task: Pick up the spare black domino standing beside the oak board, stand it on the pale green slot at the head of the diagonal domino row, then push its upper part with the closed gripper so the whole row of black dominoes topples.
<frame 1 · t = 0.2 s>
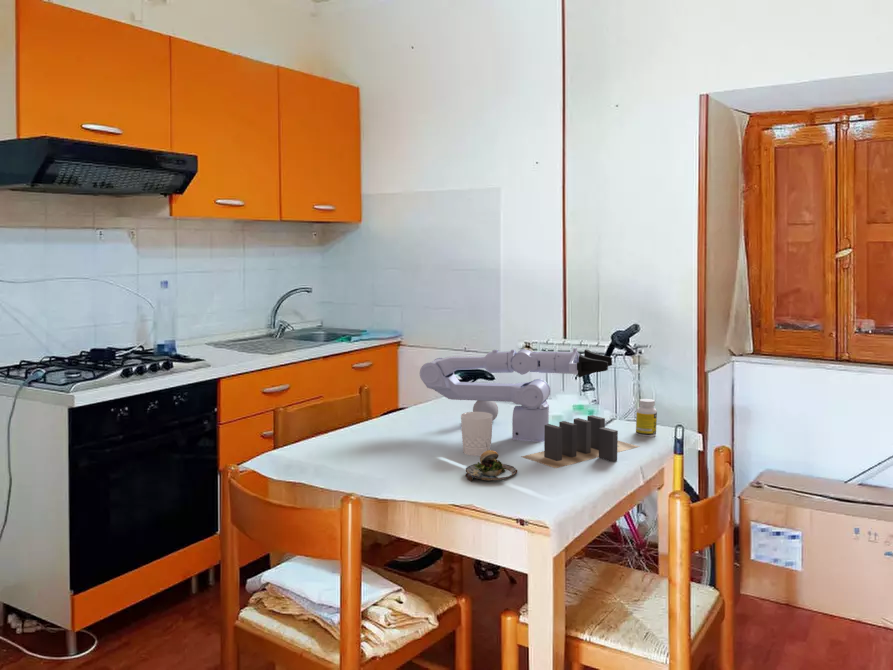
hand: (609, 363, 199), 22 cm above the table, tool horizontal, fingers open, 7 cm apart
perfume bottle: (484, 423, 227), on the table
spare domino: (607, 461, 187), on the table
domino 2: (567, 454, 191), point 1 cm above the table, touching oak board
burger: (491, 478, 177), on the table
white cup: (476, 455, 194), on the table
domino 1: (553, 458, 188), point 1 cm above the table, touching oak board
domino 4: (595, 448, 197), point 1 cm above the table, touching oak board
supplement bottle: (645, 436, 211), on the table
oak board: (581, 453, 194), on the table
domino 3: (581, 451, 194), point 1 cm above the table, touching oak board
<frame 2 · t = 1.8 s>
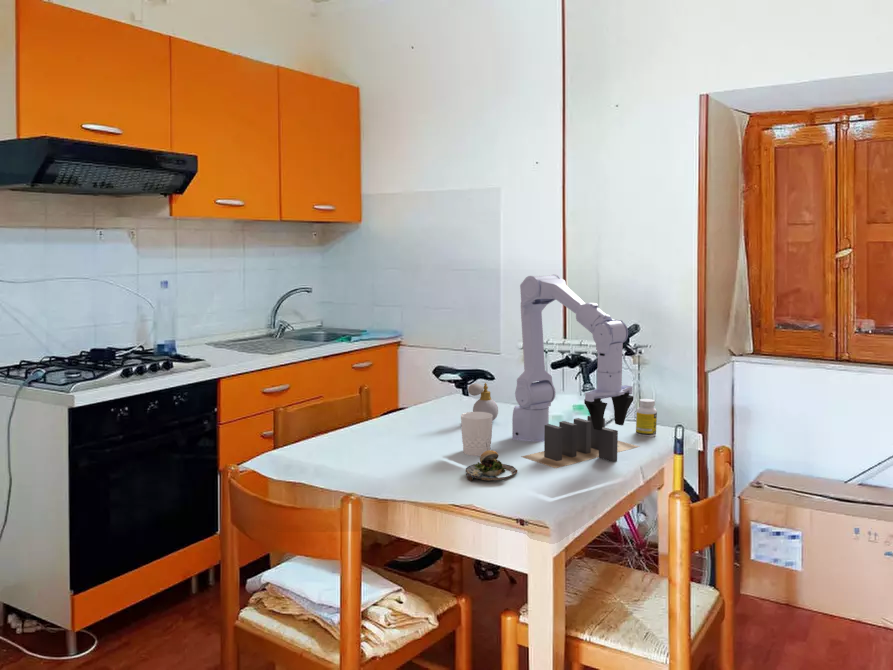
hand: (608, 427, 186), 9 cm above the table, tool pointing down, fingers open, 7 cm apart
nothing on the table moved.
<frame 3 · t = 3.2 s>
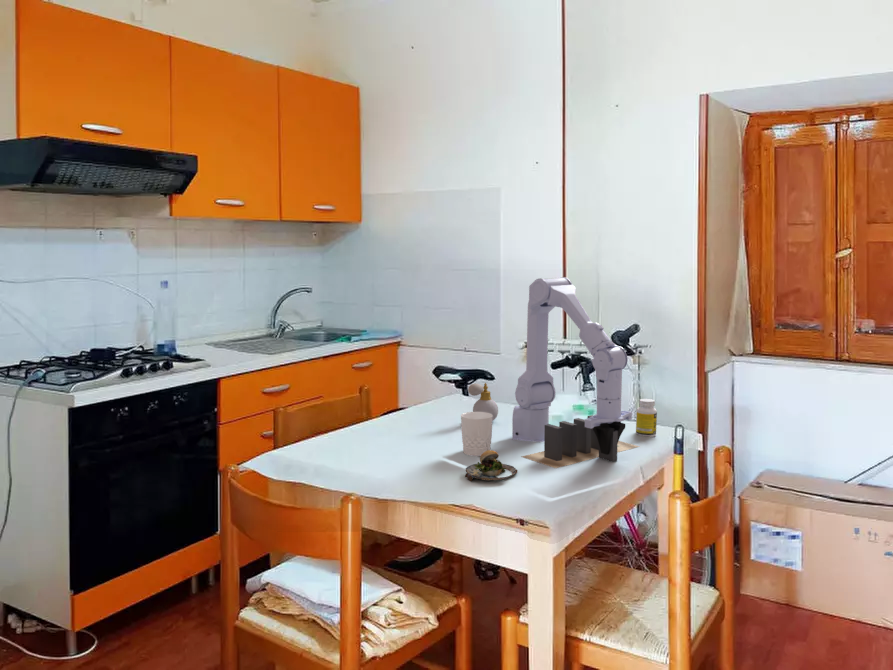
hand: (607, 452, 187), 2 cm above the table, tool pointing down, fingers closed on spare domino, 2 cm apart
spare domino: (607, 461, 187), on the table, touching gripper
everything else where it was.
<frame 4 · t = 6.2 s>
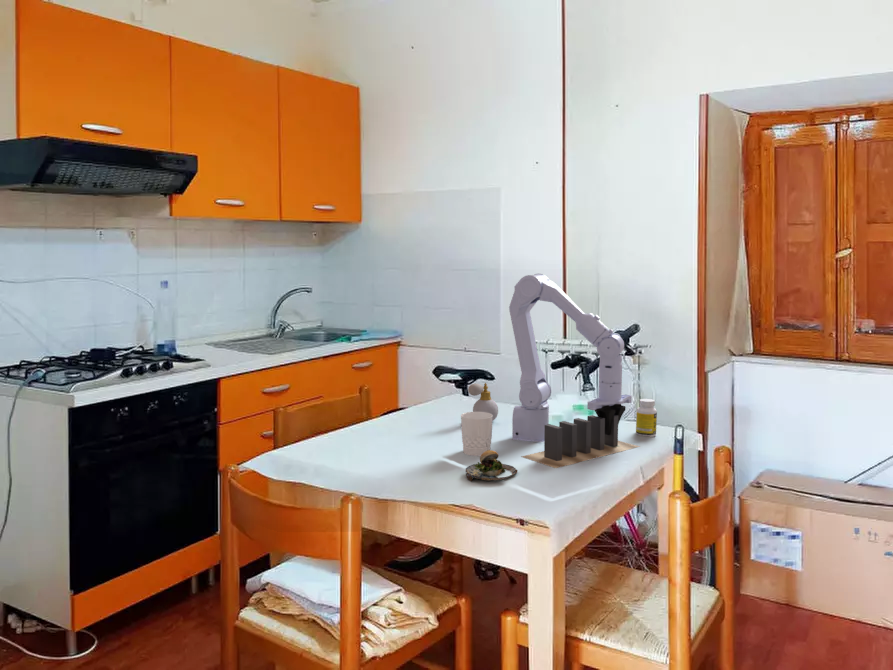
hand: (609, 433, 200), 4 cm above the table, tool pointing down, fingers closed on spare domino
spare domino: (608, 444, 200), point 1 cm above the table, touching gripper, oak board
everything else where it was.
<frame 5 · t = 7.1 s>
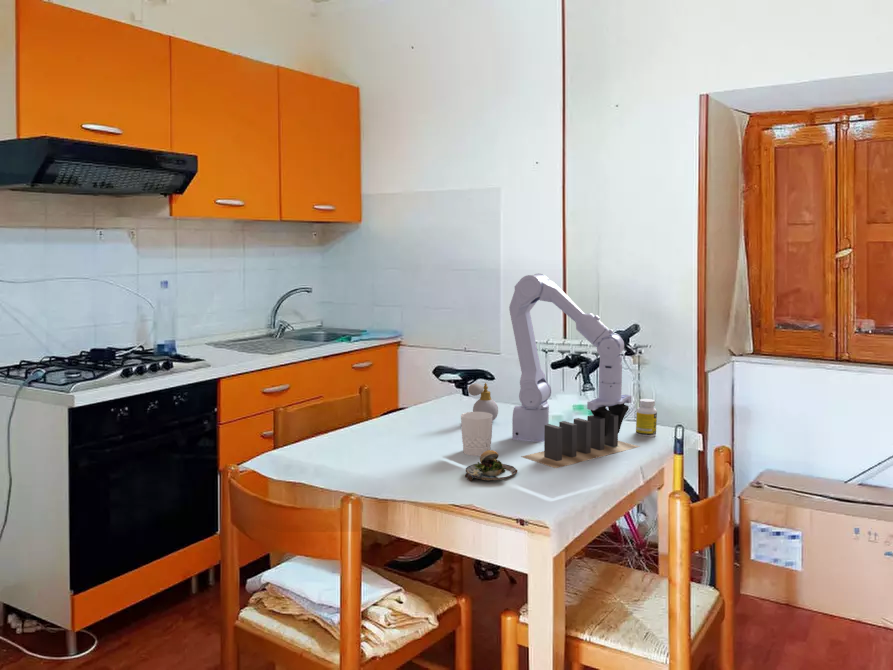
hand: (609, 433, 200), 4 cm above the table, tool pointing down, fingers open, 4 cm apart
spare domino: (608, 444, 200), point 1 cm above the table, touching oak board
everything else where it was.
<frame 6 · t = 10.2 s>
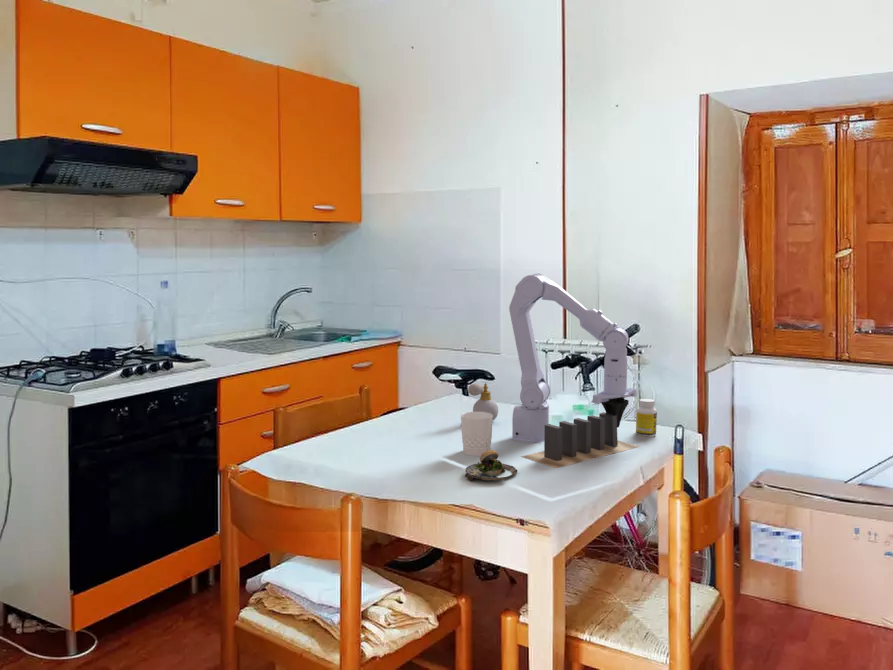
hand: (614, 427, 201), 5 cm above the table, tool pointing down, fingers closed
nothing on the table moved.
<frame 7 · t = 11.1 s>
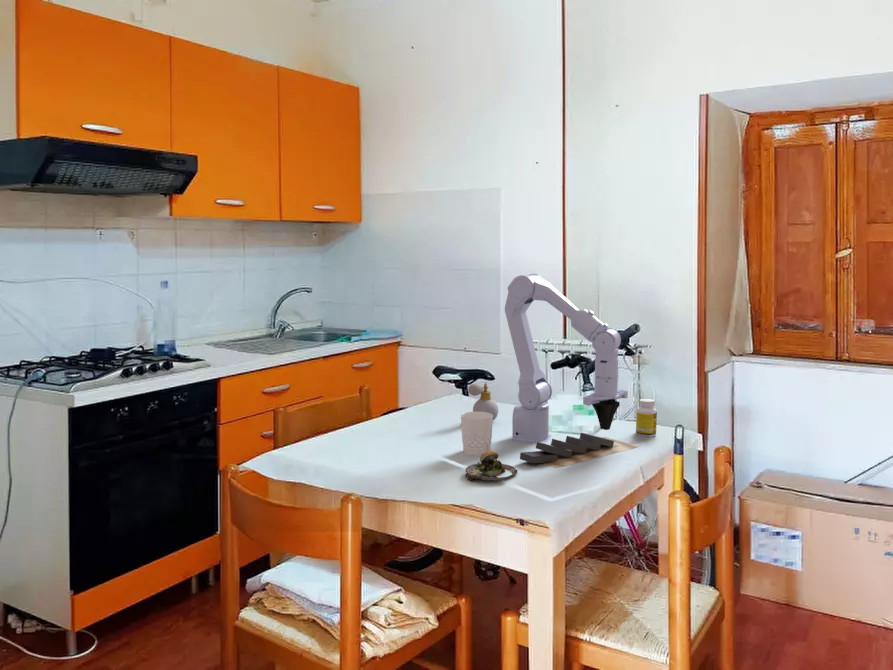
hand: (605, 429, 198), 5 cm above the table, tool pointing down, fingers closed
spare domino: (606, 442, 199), point 1 cm above the table, tilted 72°, touching domino 4, oak board
domino 2: (564, 452, 190), point 1 cm above the table, tilted 70°
domino 1: (550, 455, 188), point 1 cm above the table, tilted 83°
domino 4: (593, 445, 196), point 1 cm above the table, tilted 71°, touching domino 3, oak board, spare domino
domino 3: (579, 449, 193), point 1 cm above the table, tilted 71°, touching domino 4, oak board
everything else where it was.
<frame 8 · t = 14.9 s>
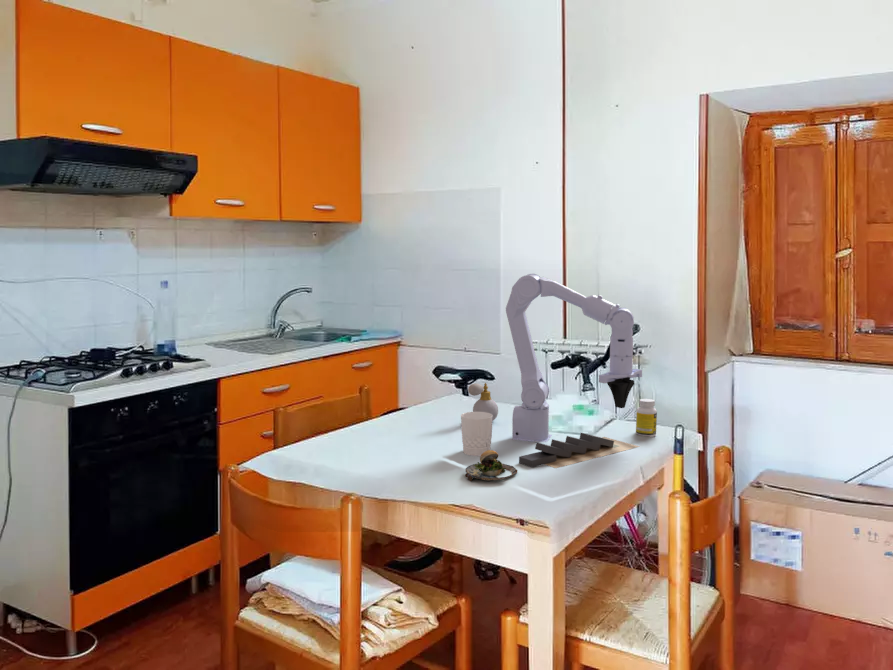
hand: (620, 407, 201), 10 cm above the table, tool pointing down, fingers closed
domino 2: (564, 452, 190), point 1 cm above the table, tilted 71°, touching domino 1, domino 3, oak board
domino 1: (549, 456, 187), point 1 cm above the table, tilted 90°, touching domino 2, oak board
domino 3: (579, 449, 193), point 1 cm above the table, tilted 72°, touching domino 2, domino 4, oak board
everything else where it was.
at the end: domino 1 tilted 90°; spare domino tilted 72°; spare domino 0.8 cm from the target spot on the oak board, point 1.4 cm above the oak board's base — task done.
